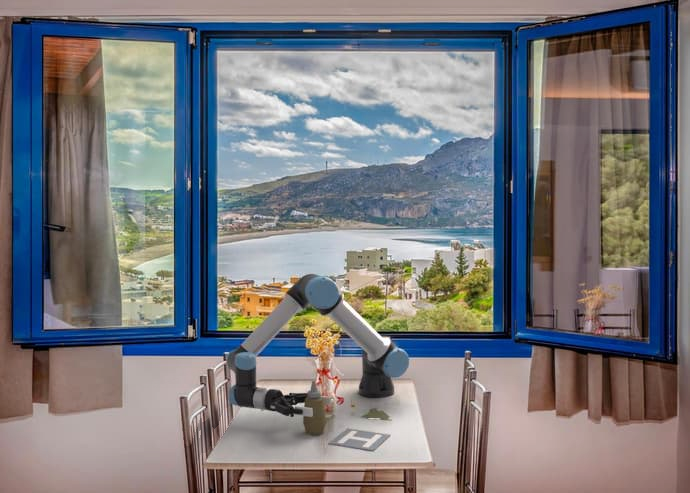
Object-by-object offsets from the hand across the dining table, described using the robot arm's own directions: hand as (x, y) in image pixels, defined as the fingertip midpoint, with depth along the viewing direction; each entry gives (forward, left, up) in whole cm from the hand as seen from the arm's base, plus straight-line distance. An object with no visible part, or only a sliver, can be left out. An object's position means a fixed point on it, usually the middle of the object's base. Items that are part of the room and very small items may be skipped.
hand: (321, 406), depth 206 cm
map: (-23, +11, -10) cm, 27 cm away
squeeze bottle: (0, -3, -10) cm, 10 cm away
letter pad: (0, +14, -9) cm, 17 cm away
